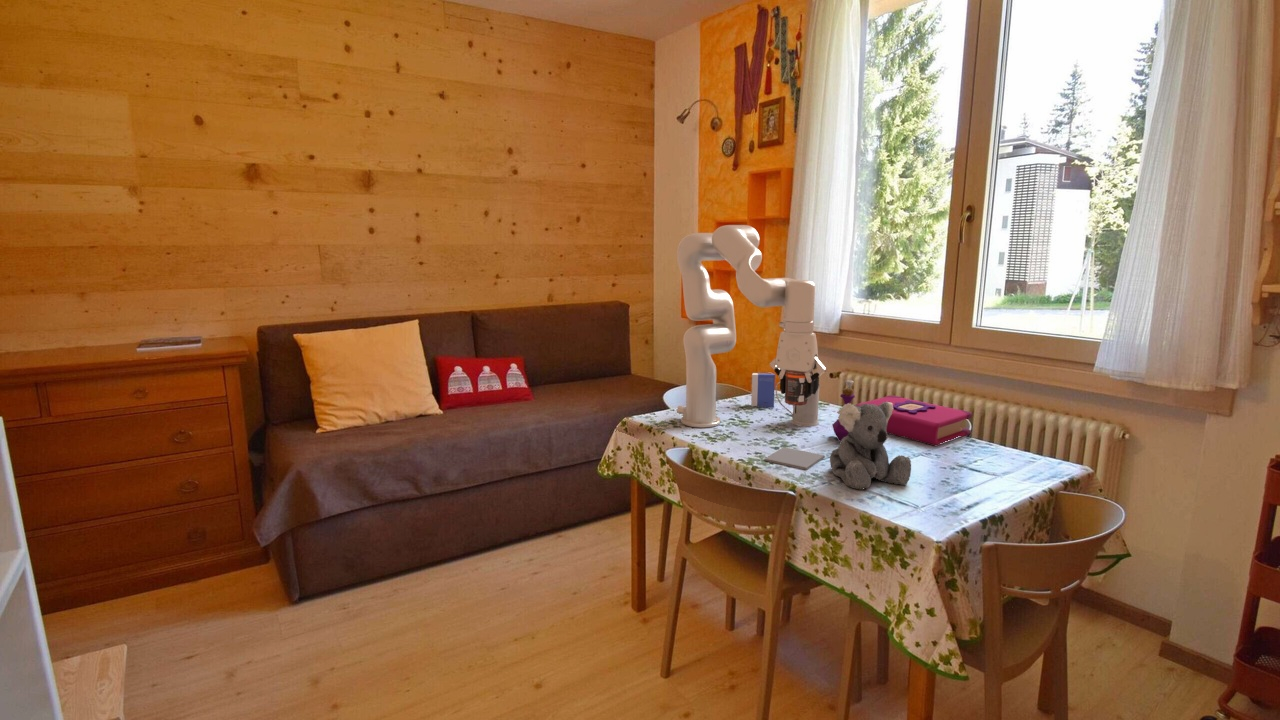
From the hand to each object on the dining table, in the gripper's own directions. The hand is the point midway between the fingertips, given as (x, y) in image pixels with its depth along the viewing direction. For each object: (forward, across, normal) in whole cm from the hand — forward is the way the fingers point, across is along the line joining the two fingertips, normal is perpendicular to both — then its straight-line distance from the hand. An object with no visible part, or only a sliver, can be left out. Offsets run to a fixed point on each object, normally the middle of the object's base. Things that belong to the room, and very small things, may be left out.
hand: (796, 394), depth 177 cm
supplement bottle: (+3, 0, 0) cm, 3 cm away
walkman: (+18, -31, +45) cm, 57 cm away
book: (+19, +18, +47) cm, 53 cm away
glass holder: (+18, -13, +33) cm, 40 cm away
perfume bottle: (+18, +6, +24) cm, 31 cm away
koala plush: (+18, +19, -2) cm, 27 cm away
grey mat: (+18, 0, 0) cm, 18 cm away
